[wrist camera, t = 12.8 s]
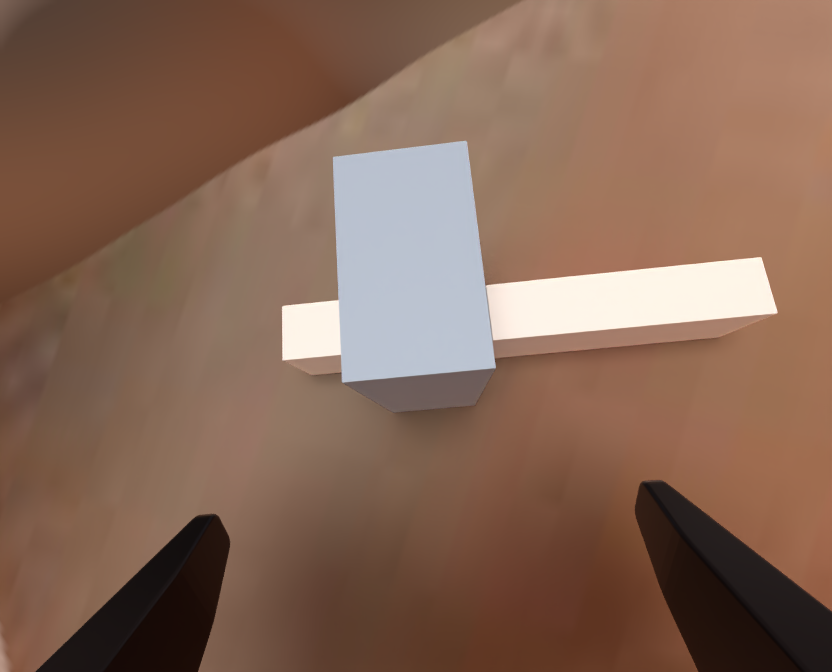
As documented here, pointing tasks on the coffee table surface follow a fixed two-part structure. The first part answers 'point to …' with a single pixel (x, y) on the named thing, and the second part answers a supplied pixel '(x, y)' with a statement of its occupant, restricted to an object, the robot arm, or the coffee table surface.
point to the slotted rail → (577, 312)
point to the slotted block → (411, 278)
